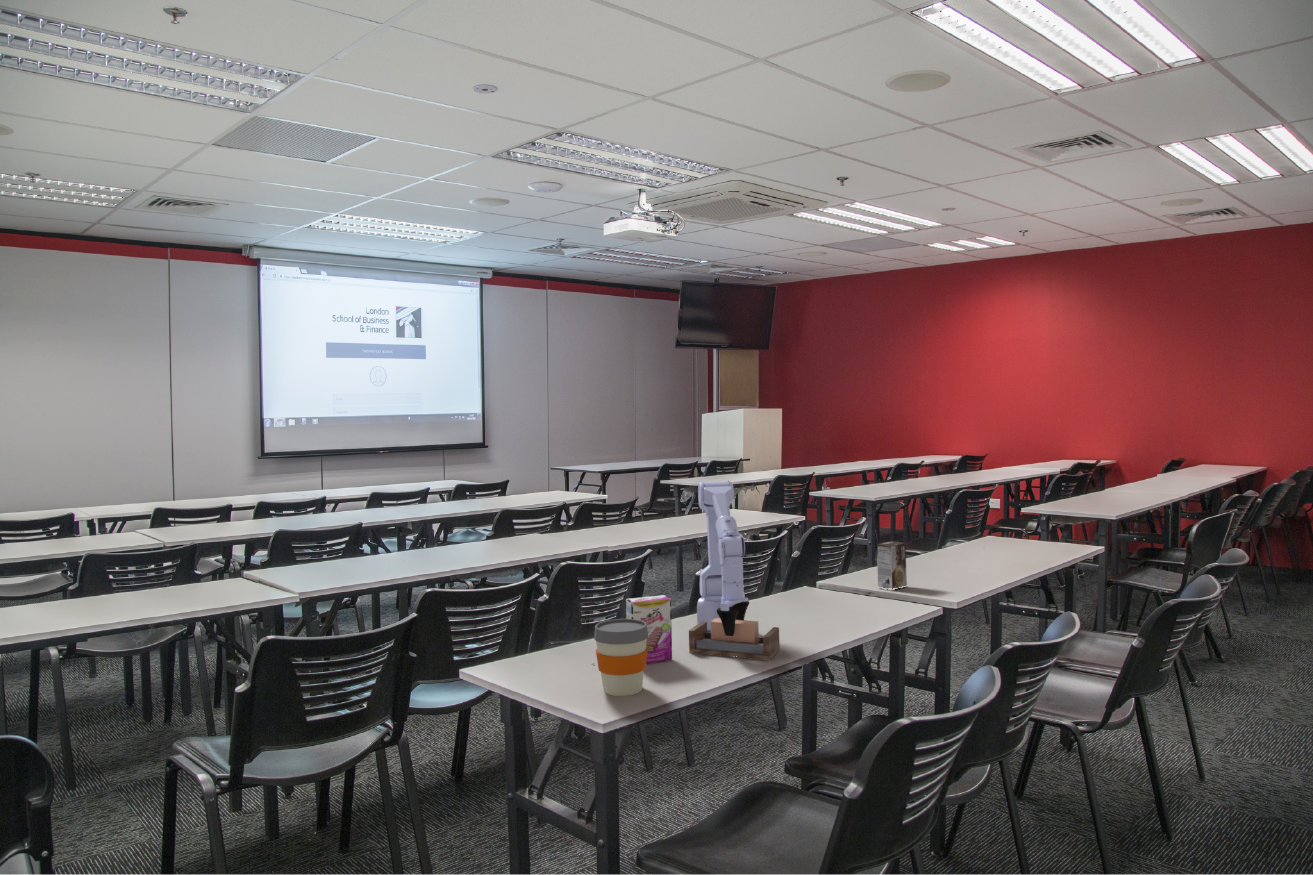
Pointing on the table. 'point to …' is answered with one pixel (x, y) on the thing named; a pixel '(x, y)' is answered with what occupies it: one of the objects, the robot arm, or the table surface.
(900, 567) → the coffee box
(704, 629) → the track base
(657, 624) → the candy bar box
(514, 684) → the table surface
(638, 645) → the reusable coffee cup
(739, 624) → the salmon orange block
